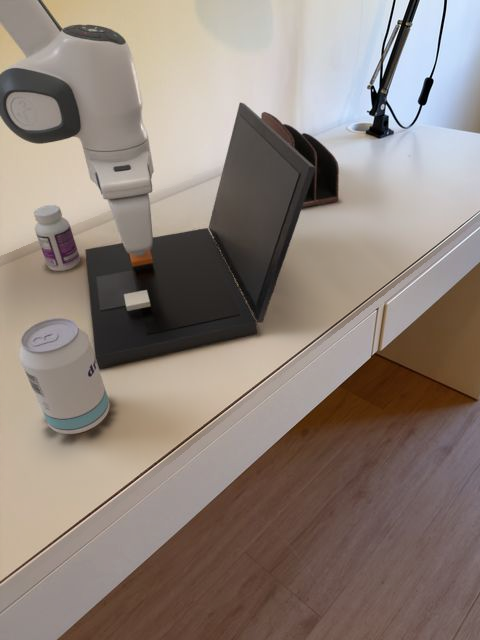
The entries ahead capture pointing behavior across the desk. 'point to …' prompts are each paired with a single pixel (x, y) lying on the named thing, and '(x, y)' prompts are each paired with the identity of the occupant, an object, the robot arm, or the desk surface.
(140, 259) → the orange block
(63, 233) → the pill bottle
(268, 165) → the laptop screen
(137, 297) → the white flat square block
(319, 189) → the letter holder
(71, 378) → the beverage can
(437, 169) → the desk surface
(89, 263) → the laptop
